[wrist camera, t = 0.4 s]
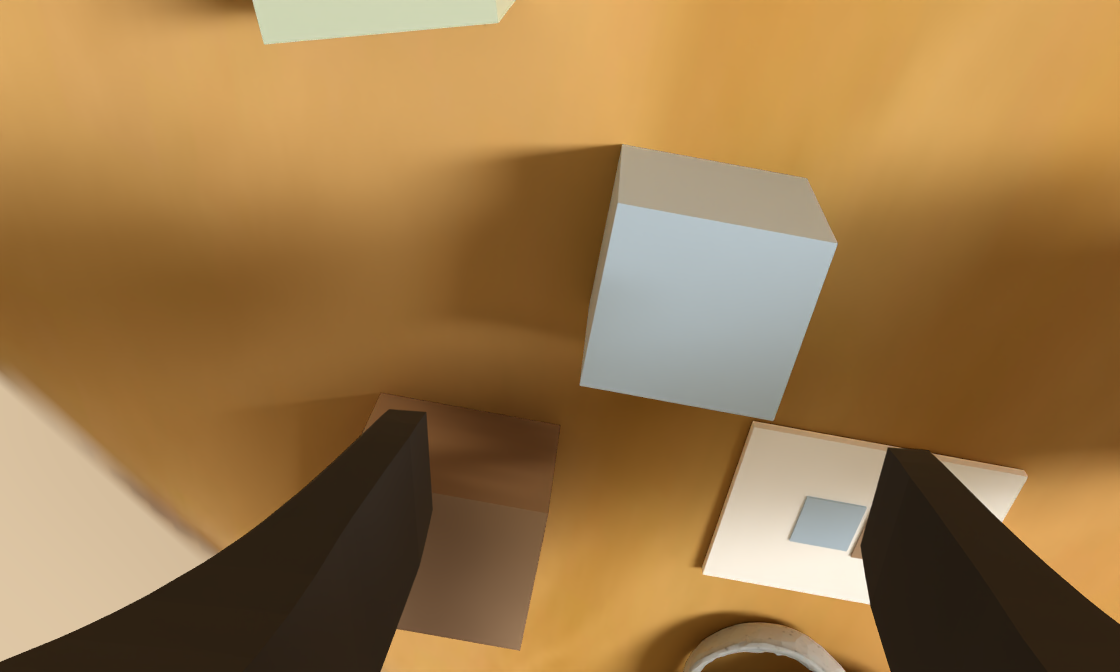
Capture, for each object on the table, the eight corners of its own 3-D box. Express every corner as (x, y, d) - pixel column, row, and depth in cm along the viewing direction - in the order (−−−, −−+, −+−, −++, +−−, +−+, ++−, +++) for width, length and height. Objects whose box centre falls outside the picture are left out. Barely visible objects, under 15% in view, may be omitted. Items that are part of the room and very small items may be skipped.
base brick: (561, 422, 25) (547, 513, 22) (534, 551, 28) (520, 650, 25) (382, 389, 25) (341, 476, 22) (373, 522, 28) (336, 618, 25)
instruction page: (1024, 470, 25) (1029, 478, 24) (943, 610, 28) (946, 620, 27) (753, 420, 25) (754, 428, 24) (702, 567, 28) (702, 576, 27)
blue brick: (806, 176, 21) (837, 243, 18) (754, 334, 23) (773, 421, 20) (622, 142, 21) (617, 202, 17) (589, 304, 23) (579, 385, 20)
